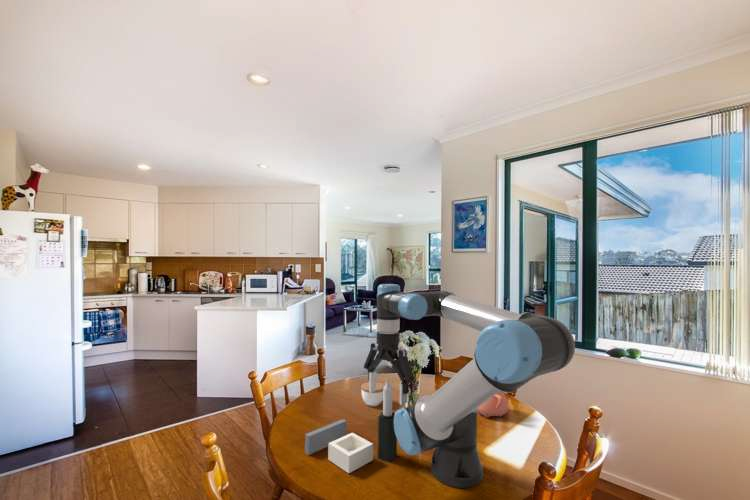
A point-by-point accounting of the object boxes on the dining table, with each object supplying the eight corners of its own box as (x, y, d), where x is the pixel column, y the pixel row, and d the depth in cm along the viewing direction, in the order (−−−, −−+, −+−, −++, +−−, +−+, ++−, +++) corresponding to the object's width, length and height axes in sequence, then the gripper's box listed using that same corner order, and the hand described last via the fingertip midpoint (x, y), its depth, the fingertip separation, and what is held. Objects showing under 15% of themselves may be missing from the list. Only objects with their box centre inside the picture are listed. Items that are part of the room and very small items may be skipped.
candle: (390, 462, 107) (390, 381, 108) (376, 457, 110) (377, 378, 111) (397, 455, 111) (398, 377, 112) (384, 450, 114) (385, 374, 115)
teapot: (490, 401, 155) (490, 374, 156) (517, 422, 136) (516, 391, 136) (463, 403, 153) (463, 376, 153) (486, 424, 133) (486, 393, 134)
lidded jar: (389, 402, 154) (389, 380, 154) (376, 410, 145) (377, 388, 145) (369, 396, 160) (369, 376, 160) (356, 404, 150) (356, 383, 151)
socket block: (372, 460, 108) (373, 443, 108) (348, 473, 101) (349, 456, 101) (352, 447, 115) (352, 432, 115) (328, 459, 108) (328, 443, 108)
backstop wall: (346, 437, 122) (346, 420, 122) (308, 455, 111) (308, 436, 111) (342, 435, 123) (343, 418, 123) (304, 452, 112) (305, 434, 112)
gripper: (425, 336, 106) (425, 405, 105) (369, 324, 124) (369, 384, 123) (410, 339, 101) (409, 413, 100) (354, 327, 118) (353, 389, 118)
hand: (387, 397), depth 111 cm, fingers open, 13 cm apart
